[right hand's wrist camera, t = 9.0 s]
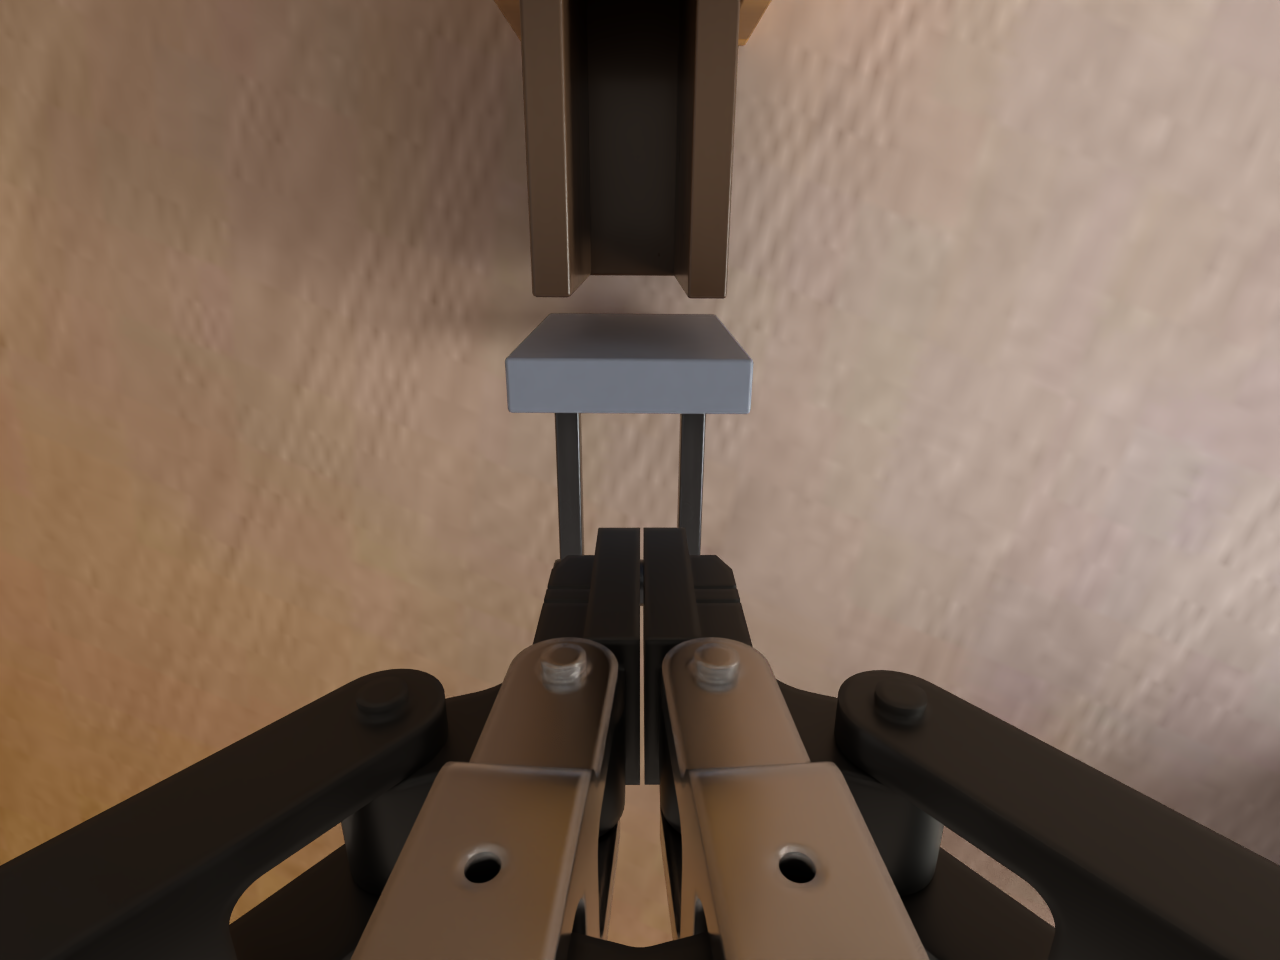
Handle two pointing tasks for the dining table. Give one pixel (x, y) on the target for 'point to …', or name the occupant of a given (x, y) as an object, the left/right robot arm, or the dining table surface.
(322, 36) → the dining table surface
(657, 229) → the drawer
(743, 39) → the cabinet
